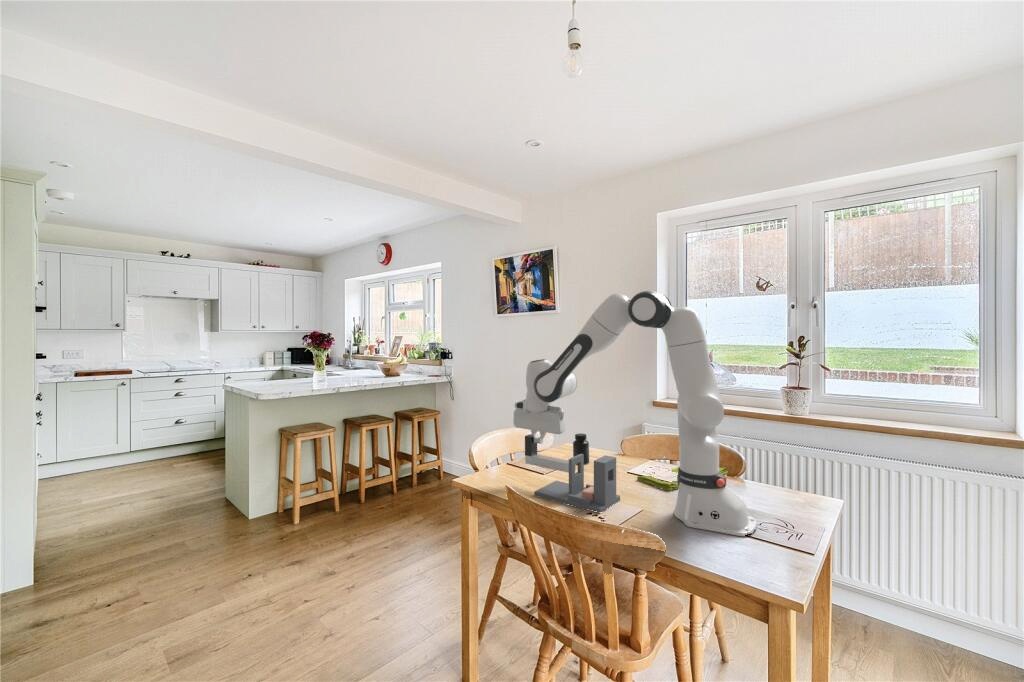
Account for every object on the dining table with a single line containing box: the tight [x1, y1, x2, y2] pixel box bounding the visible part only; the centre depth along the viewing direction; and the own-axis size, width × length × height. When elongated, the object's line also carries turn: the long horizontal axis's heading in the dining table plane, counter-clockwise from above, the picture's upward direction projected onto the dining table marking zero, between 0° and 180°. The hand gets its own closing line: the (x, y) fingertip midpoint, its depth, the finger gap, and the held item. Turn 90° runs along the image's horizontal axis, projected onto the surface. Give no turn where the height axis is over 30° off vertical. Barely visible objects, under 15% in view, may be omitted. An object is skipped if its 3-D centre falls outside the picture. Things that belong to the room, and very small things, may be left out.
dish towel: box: [636, 466, 729, 493], centre depth 172 cm, size 15×36×3 cm, turn 123°
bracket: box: [534, 454, 621, 513], centre depth 151 cm, size 25×14×15 cm, turn 52°
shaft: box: [524, 433, 569, 474], centre depth 158 cm, size 19×4×10 cm, turn 52°
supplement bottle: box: [572, 433, 590, 465], centre depth 192 cm, size 7×7×12 cm
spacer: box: [582, 486, 594, 502], centre depth 148 cm, size 4×6×2 cm, turn 140°
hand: (538, 443), depth 160 cm, fingers closed
